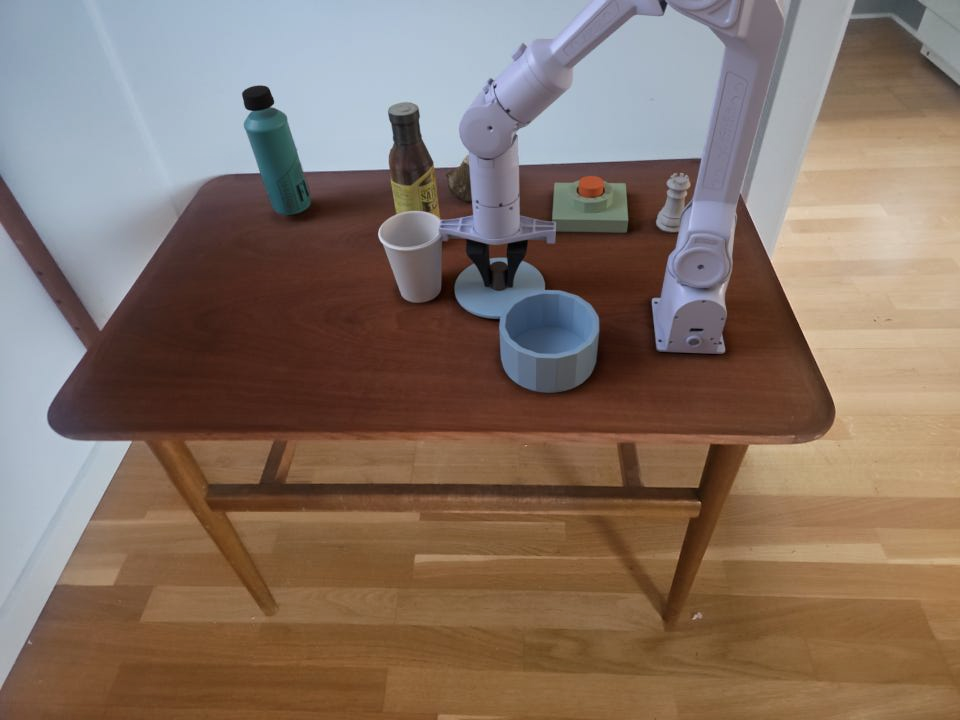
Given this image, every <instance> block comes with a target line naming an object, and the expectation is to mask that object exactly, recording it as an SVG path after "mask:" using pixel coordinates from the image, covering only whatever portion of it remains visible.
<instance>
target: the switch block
mask: <svg viewBox="0 0 960 720" xmlns="http://www.w3.org/2000/svg"><path fill="white" fill-rule="evenodd" d="M579 181H580V179H579V180H576V181H574V182H554V185H553V199H552V201H553V202H552V215H551V216H552V218H551V222H556V232H565V233H566V232H569V233H570V232H571V233H572V232H575V233H621V234H622V233H625V234H626V233H627V232H628V226H629V212H628V209H629V208H628V197H627V186H626V185H627V184H626V183H625V182H607V181H605V180H603V182H604V184H603V194H602V195H601V196H599V197H596V198H585V197H582V196H580V195H579V193H578V191H579Z"/></svg>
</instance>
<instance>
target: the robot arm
mask: <svg viewBox="0 0 960 720" xmlns="http://www.w3.org/2000/svg"><path fill="white" fill-rule="evenodd" d="M668 6H669V7H671V8H672V9H673V10H674V11H676V12H677V13H679V14H681V15H682V16H685V17H686V18H689V19H691V20H693V21H695V22H698V23H700V24H702V25H704V26H706V27H707V28H709V29H710V31H712V33H713V34H714V35H715V36H716V37H717V38H718V39H719V40H720V41H721V42H722V43H723V45H724V50H723V55H722V59H721V60H722V61H721V63H720V64H721V65H720V69H719V74H718V79H717V83H716V88H715V93H714V97H713V102H712V106H711V112H710V116H709V121H708V126H707V129H706V130H707V131H706V136H705V140H704V145H703V150H702V154H701V160H700V164H699V169H698V173H697V178H696V179H697V180H696V182H695V187H694V191H693V195H692V198H691V199H690V201H689V202H687V204H686V206H684V209H683V211H682V213H681V216H680V228H679V232H677V233H678V234H677V238H676V244H675V248H674V249H673V250H672V252H670V254H669V255H668V257H667V263H666V266H665V272H664V278H663V282H662V288H661V293H660V297H652V298H651V309H652V310H651V311H652V320H653V329H654V338H655V339H654V341H655V349H656V351H658V352H662V353H686V354H687V353H688V354H690V353H691V354H712V355H716V354H717V355H723V354H725V352H726V346H725V341H724V337H723V331H724V328H725V324H726V321H727V317H728V311H727V307H726V293H727V290H728V286H729V282H730V279H731V274H732V272H733V263H734V261H733V251H734V242H735V232H736V231H735V230H736V228H737V223H738V216H737V205H738V203H739V199H740V194H741V192H742V191H741V190H742V188H743V184H744V180H745V178H746V177H745V176H746V174H747V169H748V166H749V161H750V158H751V154H752V150H753V147H754V144H755V139H756V136H757V132H758V128H759V125H760V120H761V116H762V113H763V110H764V105H765V102H766V99H767V94H768V91H769V88H770V83H771V80H772V76H773V72H774V70H775V65H776V62H777V57H778V54H779V50H780V47H781V42H782V39H783V35H784V31H785V24H786V6H785V2H784V0H589V2H587V4H586V5H585V6H584V7H583V8H582V9H581V10H580V11H579V12H578V13H577V14H576V15H575V16H574V17H573V18H572V19H571V21H569V23H567V25H566V26H565V27H564V28H563V29H562V30H561V31H560V32H559V33H558V34H557V35H556V36H555V37H554V38H536V39H533V40H532V41H531V42H530V43H529V44H528V45H526V44H525V42H521V43H520V44H519V45H518V46H517V47H516V48H515V49H514V50H513V52H512V54H511V55H510V57H511V59H512V61H511V62H510V63H509V65H507V66H506V67H505V68H504V69H503V70H502V71H501V73H499V74H498V75H497V76H496V78H495V79H493V78H492V77H489V79H487V80H486V81H485V82H484V83H483V85H482V86H481V89H482V90H481V91H480V92H479V93H478V94H477V95H476V97H475V98H474V100H473V101H472V102H471V104H470V105H469V106H468V108H467V109H466V110H465V112H464V113H463V116H462V117H461V119H460V122H459V126H458V134H459V139H460V141H461V143H462V144H463V146H464V148H465V149H466V150H467V151H468V155H469V168H470V182H471V195H472V201H471V206H472V215H469V216H462V217H457V218H451V219H450V218H449V219H440V224H439V228H438V231H439V234H440V235H441V238H440V241H442V242H448V241H449V239H464V240H465V241H466V242H465V253H466V256H467V258H469V259H470V260H471V262H472V264H475V265H476V267H477V269H478V270H479V272H480V274H481V277H482V279H483V282H484V285H485V287H490V259H491V258H490V245H492V246H500V245H507V247H506V258H507V263H508V279H507V287H508V288H512V287H513V282H514V277H515V274H516V271H517V269H518V267H519V265H520V263H521V262H522V261H523V260H524V259H525V257H526V255H527V252H528V246H529V245H528V243H529V241H546V244H553V245H554V244H556V232H557V231H556V222H552V221H548V220H543V219H537V218H533V217H529V216H525V215H521V214H520V213H521V212H520V211H521V210H520V209H521V208H520V207H521V206H520V155H519V135H518V134H517V132H518V131H519V130H520V129H523V128H525V127H528V126H529V125H530V124H531V123H532V122H533V121H535V119H537V118H538V117H539V116H540V115H541V114H542V113H544V111H545V110H547V109H548V108H549V107H550V106H551V105H552V104H553V103H555V102H556V101H557V100H558V99H559V98H560V97H561V96H563V94H565V93H566V92H567V91H568V90H569V89H571V87H572V85H573V80H574V67H575V66H576V65H578V64H579V63H580V62H581V61H582V60H583V59H585V57H587V56H588V55H589V54H590V53H592V51H594V50H595V49H596V48H597V47H599V46H600V45H601V44H602V43H604V42H605V41H606V40H607V39H608V38H609V37H610V36H612V34H614V33H615V32H617V30H619V29H620V28H621V27H622V26H623V25H624V24H626V23H627V22H628V21H629V20H630V19H631V18H633V17H635V16H648V17H649V16H650V17H663V16H664V15H665V13H666V9H667V7H668Z"/></svg>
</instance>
